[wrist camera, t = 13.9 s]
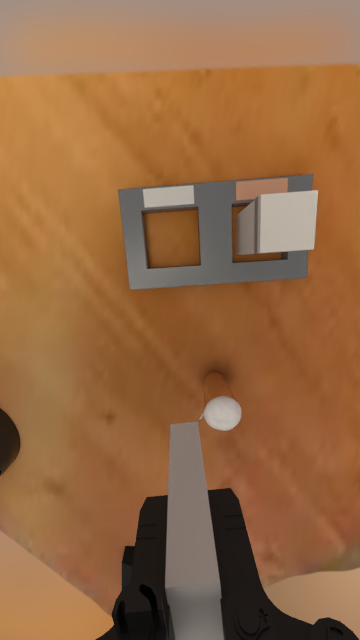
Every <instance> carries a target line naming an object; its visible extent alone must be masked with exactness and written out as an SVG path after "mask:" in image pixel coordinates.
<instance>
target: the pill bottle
mask: <svg viewBox="0 0 360 640" xmlns="http://www.w3.org/2000/svg"><path fill="white" fill-rule="evenodd" d="M203 415H204V418H205V420H206V422H207V423H208V424H209V425H210V426H211V427H212V428H214V429H218V430H230V429H232V428H233V427H234V426H236V425H237V424H238V423H239V421H240V418H241V408H240V405H239V404H238V402H237V400H236V398H235V397H234V395H233V393H232V391H231V389H230V387H229V385H228V383H227V381H226V379H225V377H224V376H223V375H222V374H221V373H220V372H211V373H208V374H207V375H206V377H205V379H204V412H203V414H202V415H201V417H200V419H199V421H200V420H201V418H202V416H203ZM198 423H199V422H198Z"/></svg>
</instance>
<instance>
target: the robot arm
mask: <svg viewBox="0 0 360 640" xmlns="http://www.w3.org/2000/svg"><path fill="white" fill-rule="evenodd" d="M19 446H20V442H19V436H18V432H17V430H16V428H15V426H14V424H13V423H12V421H11V420H10V419H9V418H8V416H7V415H6V414H5V413H3V412H2V411H1V410H0V476H1V475H2V474H3V473H4V472H5V471H6V470H7V468H8V467H9V466H10V465H11V464H12V463H13V461H14V460H15V459H16V457H17V455H18V452H19ZM112 618H113V621H114V626H113V627H112V628H111V629H110V630H109V631H108V632H106V633H105V634H104V635H103V636H101V637H99V638H98V639H96V640H359V639H358V638H357V636H356V635H355V634H354V633H353V631H351V630H350V629H349V628H347V627H346V626H345V625H344V624H342V623H341V622H340V621H337V620H334V619H331V618H322V619H318V621H317V622H316V623H315V624H314V625H312V624H309V623H306V622H304V621H301V620H298V619H296V618H293V617H291V616H289V615H287V614H285V613H283V612H281V611H280V610H279V609H278V608H277V607H276V606H274V604H273V603H272V602H271V601H270V599H269V598H268V597H267V595H266V593H265V592H264V590H263V587H262V584H261V582H260V579H259V575H258V571H257V567H256V563H255V560H254V556H253V552H252V548H251V545H250V541H249V537H248V533H247V530H246V526H245V522H244V518H243V514H242V511H241V507H240V503H239V500H238V498H237V497H236V495H235V494H234V492H233V491H232V490H231V488H226V489H216V490H207V484H206V477H205V470H204V463H203V456H202V448H201V441H200V434H199V427H198V422H189V423H179V424H170V449H169V480H168V495H165V496H155V497H147V498H146V500H145V502H144V504H143V506H142V508H141V510H140V515H139V522H138V529H137V536H136V543H135V550H134V557H133V564H132V571H131V578H130V583H129V584H128V585H127V586H126V587H125V588H123V590H122V591H121V593H120V595H119V596H118V598H117V599H116V602H115V605H114V608H113V611H112Z"/></svg>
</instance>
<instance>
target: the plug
mask: <svg viewBox="0 0 360 640" xmlns="http://www.w3.org/2000/svg"><path fill="white" fill-rule="evenodd" d="M317 199H318V190H314V191H301V192H288V193H275V194H262V195H260V196H257V197H256V198H255V200H254V201H253V202H252V203H250V204H249V205H248V206H247V207H246V208H244V209H243V210H242V211H241V212H240V213H238V214H237V215H236V255H247V254H262V253H277V252H291V251H305V250H311V249H314V242H315V227H316V213H317Z"/></svg>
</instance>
